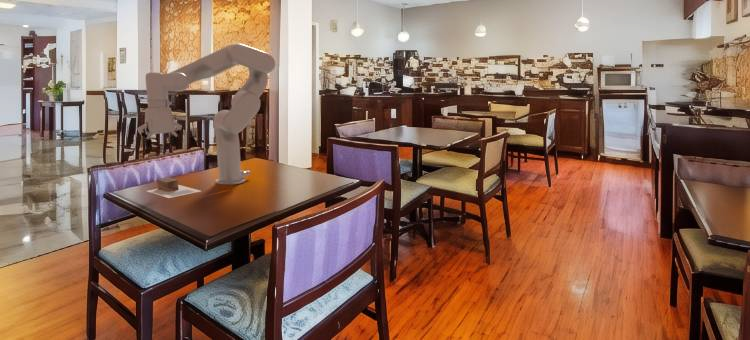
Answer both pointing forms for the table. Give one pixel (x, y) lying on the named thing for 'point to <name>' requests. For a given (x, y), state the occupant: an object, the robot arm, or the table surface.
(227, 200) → the table surface
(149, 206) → the table surface
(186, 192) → the mat
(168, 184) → the brown block
